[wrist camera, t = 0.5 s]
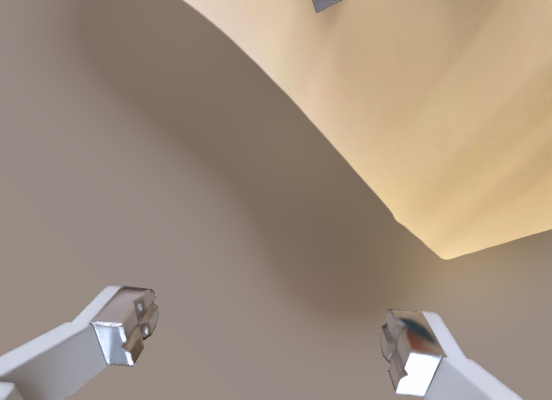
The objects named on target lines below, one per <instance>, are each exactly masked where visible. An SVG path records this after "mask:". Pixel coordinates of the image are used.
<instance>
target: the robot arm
mask: <svg viewBox="0 0 552 400" xmlns="http://www.w3.org/2000/svg"><path fill="white" fill-rule="evenodd" d="M155 298H156V296H155V292H154V290H152V289H145V288H137V287H128V286H116V285H110V286H107V287H105V288H104V290H103V291H102V292H101V293H100V294H99V295H98V296H97V297H96V298H95V299H94V300H93V301H92V302H91V303H90V304H89V305H88V306H87V307H86V308H85V309H84V310H83V311H82V312H81V313H80V314H79V315H78V317H76V319H74V321H73V322H66V323H64V324H63V325H61V326H59V327H57V328H55V329H53V330H51V331H49V332H47V333H45V334H43V335H41V336H39V337H37V338H35V339H33V340H32V341H30V342H28V343H26V344H24V345H22V346H20V347H18V348H16V349H14V350H12V351H10V352H8V353H6V354H5V355H3V356H1V357H0V400H66V399H67V398H68V397H70V396H71V395H72V394H73V393H75V392H76V391H77V390H78V389H80V388H81V387H82V386H83V385H84V384H86V383H87V382H88V381H89V380H91V378H93V377H94V376H96V375H97V374H98V373H99V372H100V371H102V370H103V369H104V368H105V367H107V365H118V366H133V365H134V363H135V362H136V360H137V358H138V357H139V355H140V353H141V351H142V350H143V348H144V343H143V341H144V340H145V339H146V338H148V337H149V336H151V335H152V333H153V331H154V329H155V328H156V324H157V321H158V314H159V312H158V307H157V306H156V305H155V304H154V303H153V301H154V299H155ZM385 319H386V322H387V323H386V324H385V325H383V326H382V328H381V332H380V344H381V350H382V353H383V356H384V358H385V359H386V360H387V361H388V362H389V363H390V367H389V370H388V372H389V375H390V378H391V380H392V384H393V387H394V390H395V392H396V393H398V394H406V395H413V396H421V397H425V398H424V399H425V400H523V399H522V398H521V397H520V396H518V395H517V394H516V393H514V392H513V391H512V390H510V389H509V388H508V387H507V386H505V385H504V384H503V383H501V382H500V381H499V380H498V379H496V378H495V377H494V376H492V375H491V374H490V373H488V372H487V371H486V370H484V369H483V368H482V367H481V366H479V365H478V364H477V363H475V362H474V361H473V360H467V359H466V357H465V355H464V354H463V352H462V351H461V349H460V348H459V346H458V345H457V343H456V341H455V340H454V338H453V337H452V335H451V333H450V332H449V330H448V329H447V327H446V326H445V324H444V323H443V321H442V319H441V318H440V316H439V315H438V314H436V313H435V312H422V311H419V312H418V311H409V310H396V309H388V310H387V311H386V314H385Z"/></svg>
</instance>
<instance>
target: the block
mask: <svg viewBox="0 0 552 400" xmlns="http://www.w3.org/2000/svg"><path fill="white" fill-rule="evenodd" d="M340 1H342V0H313V4H314V7H315V11H316V13H318V12H320V11H322V10H324V9H326V8H328V7H330V6H332V5H334V4H336V3H338V2H340Z"/></svg>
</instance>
